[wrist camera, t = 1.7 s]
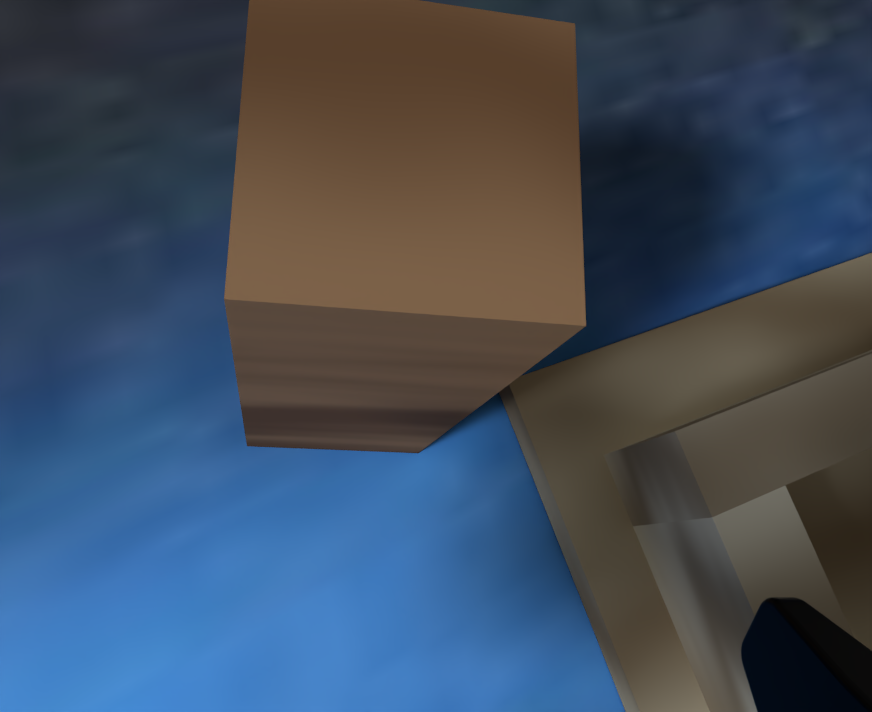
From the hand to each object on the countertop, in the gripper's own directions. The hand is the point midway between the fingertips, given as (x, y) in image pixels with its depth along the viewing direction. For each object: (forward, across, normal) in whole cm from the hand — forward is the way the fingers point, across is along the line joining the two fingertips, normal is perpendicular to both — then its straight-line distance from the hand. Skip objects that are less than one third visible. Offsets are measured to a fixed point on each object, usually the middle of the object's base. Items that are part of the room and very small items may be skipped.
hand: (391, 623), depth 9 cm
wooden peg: (+13, 0, +4) cm, 13 cm away
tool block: (+9, -14, +8) cm, 18 cm away
